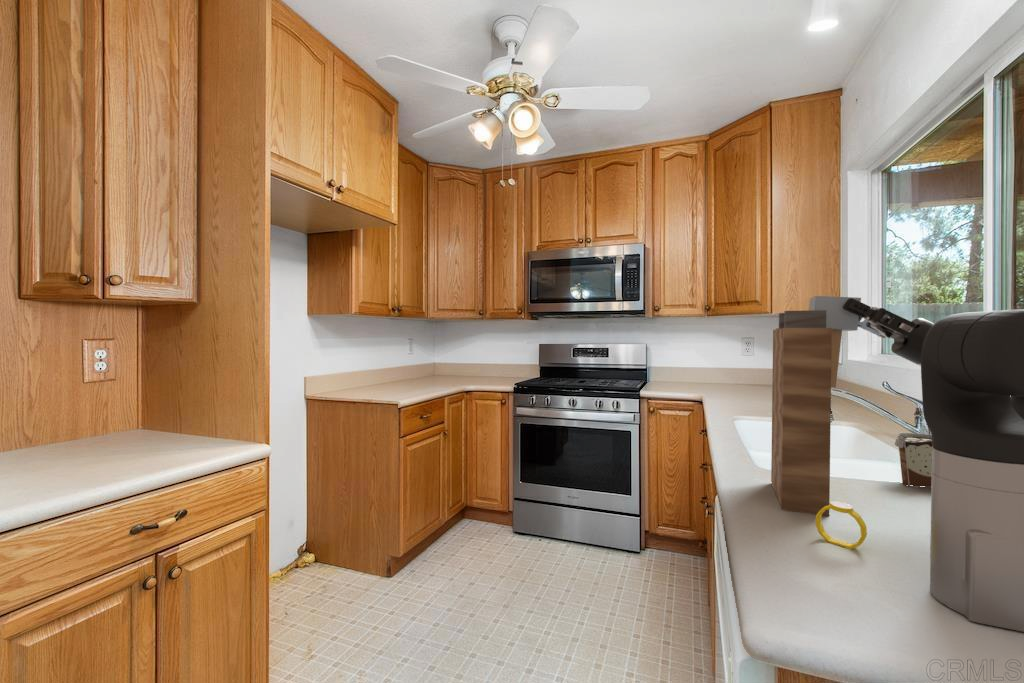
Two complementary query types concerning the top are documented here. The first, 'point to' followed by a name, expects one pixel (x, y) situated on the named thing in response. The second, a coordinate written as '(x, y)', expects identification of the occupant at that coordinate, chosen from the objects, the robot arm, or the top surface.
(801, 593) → the top surface
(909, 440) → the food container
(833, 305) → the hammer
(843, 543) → the watch
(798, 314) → the stand
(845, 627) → the top surface
